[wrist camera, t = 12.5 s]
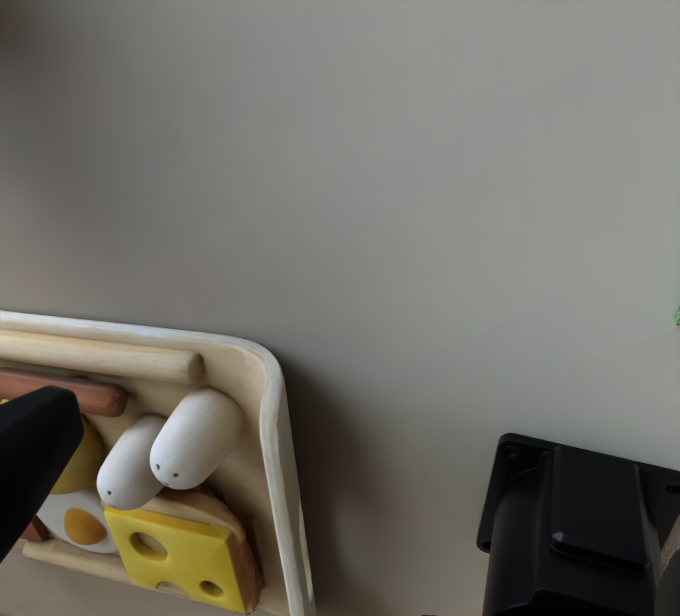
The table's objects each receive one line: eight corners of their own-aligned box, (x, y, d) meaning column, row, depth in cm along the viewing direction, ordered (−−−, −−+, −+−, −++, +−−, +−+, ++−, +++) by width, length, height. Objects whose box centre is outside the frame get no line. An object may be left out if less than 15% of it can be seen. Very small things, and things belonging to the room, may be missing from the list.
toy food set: (-8, 527, 40) (-114, 635, 34) (-137, 289, 31) (-315, 376, 25) (353, 624, 32) (302, 787, 26) (322, 343, 23) (232, 492, 17)
